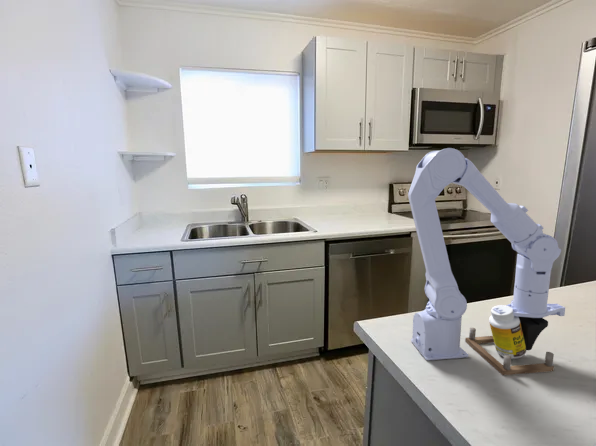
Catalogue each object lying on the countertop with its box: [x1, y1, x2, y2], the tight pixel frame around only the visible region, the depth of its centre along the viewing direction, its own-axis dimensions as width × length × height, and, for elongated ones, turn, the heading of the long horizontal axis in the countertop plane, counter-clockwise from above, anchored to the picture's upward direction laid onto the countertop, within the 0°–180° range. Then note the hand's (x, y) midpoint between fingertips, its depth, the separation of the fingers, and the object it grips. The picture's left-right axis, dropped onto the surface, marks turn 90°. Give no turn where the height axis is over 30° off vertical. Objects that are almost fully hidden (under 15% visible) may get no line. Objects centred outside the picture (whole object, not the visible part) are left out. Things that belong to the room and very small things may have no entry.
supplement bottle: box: [488, 304, 527, 360], centre depth 66 cm, size 6×6×10 cm
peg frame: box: [464, 327, 555, 376], centre depth 66 cm, size 11×12×4 cm
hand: (525, 347), depth 67 cm, fingers closed
